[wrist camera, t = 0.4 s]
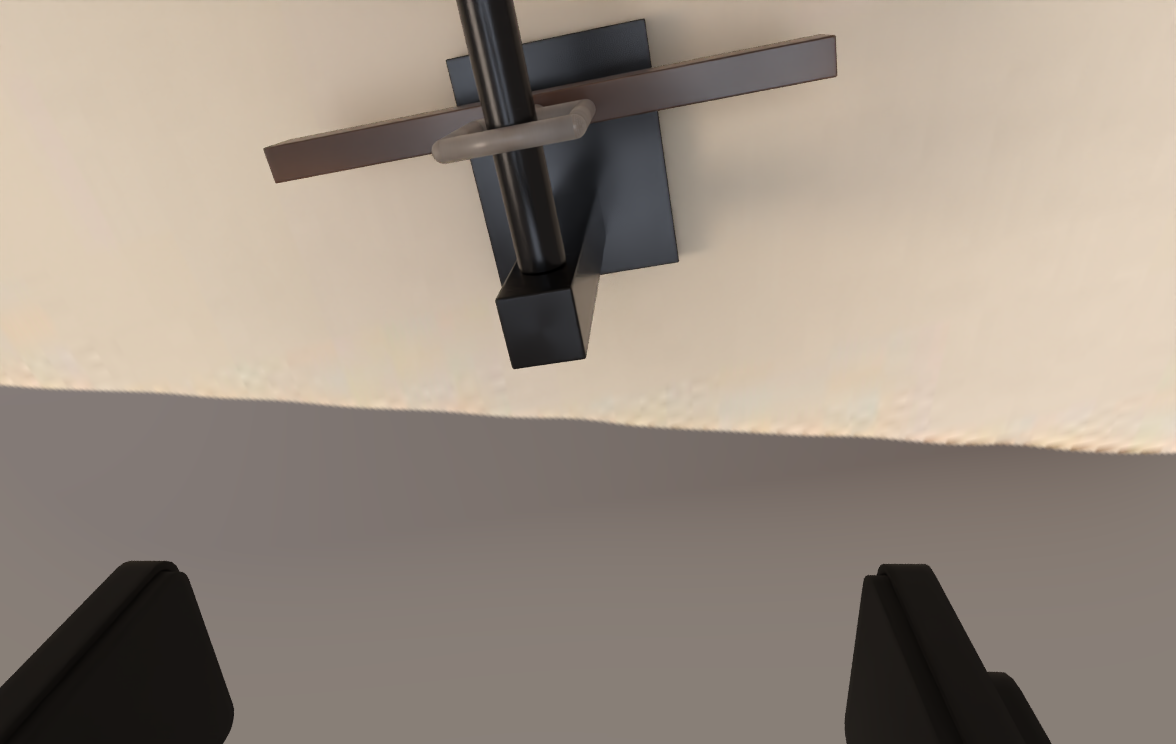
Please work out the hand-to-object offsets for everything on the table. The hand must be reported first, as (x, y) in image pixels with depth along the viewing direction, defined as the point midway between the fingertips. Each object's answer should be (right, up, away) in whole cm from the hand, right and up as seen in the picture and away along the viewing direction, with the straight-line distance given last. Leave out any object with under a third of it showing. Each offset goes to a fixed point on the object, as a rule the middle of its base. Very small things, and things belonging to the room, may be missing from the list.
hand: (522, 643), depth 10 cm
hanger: (-1, +14, +20) cm, 24 cm away
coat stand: (0, +16, +25) cm, 29 cm away
